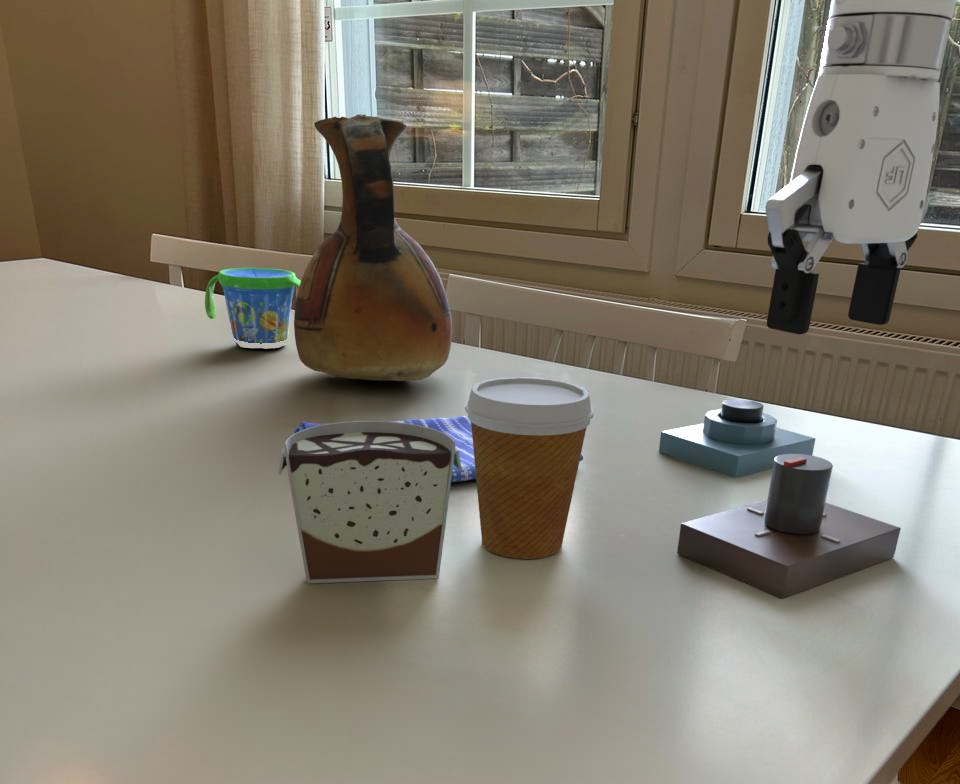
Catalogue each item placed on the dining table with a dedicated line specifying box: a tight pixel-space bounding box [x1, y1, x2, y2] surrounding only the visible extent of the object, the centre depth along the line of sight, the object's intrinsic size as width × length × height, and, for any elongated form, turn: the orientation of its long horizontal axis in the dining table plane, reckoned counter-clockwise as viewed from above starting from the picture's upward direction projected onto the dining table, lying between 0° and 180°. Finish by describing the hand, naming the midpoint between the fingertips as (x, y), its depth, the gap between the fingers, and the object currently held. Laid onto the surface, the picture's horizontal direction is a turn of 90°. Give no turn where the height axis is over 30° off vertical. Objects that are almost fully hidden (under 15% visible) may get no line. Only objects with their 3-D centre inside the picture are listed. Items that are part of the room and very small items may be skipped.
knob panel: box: [676, 499, 902, 599], centre depth 76 cm, size 14×10×3 cm
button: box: [720, 398, 764, 423], centre depth 98 cm, size 4×4×2 cm
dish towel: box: [293, 415, 584, 483], centre depth 95 cm, size 17×24×3 cm
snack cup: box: [204, 267, 301, 344], centre depth 140 cm, size 16×10×10 cm
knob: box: [764, 454, 834, 534], centre depth 74 cm, size 4×4×5 cm
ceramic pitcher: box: [293, 113, 453, 382], centre depth 119 cm, size 20×20×30 cm
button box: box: [658, 408, 816, 479], centre depth 100 cm, size 12×10×4 cm
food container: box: [278, 420, 462, 584], centre depth 70 cm, size 12×6×10 cm, turn 100°
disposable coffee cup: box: [464, 376, 595, 560], centre depth 74 cm, size 10×10×12 cm
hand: (828, 326), depth 72 cm, fingers open, 9 cm apart
